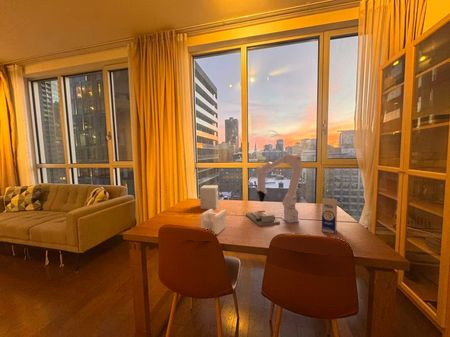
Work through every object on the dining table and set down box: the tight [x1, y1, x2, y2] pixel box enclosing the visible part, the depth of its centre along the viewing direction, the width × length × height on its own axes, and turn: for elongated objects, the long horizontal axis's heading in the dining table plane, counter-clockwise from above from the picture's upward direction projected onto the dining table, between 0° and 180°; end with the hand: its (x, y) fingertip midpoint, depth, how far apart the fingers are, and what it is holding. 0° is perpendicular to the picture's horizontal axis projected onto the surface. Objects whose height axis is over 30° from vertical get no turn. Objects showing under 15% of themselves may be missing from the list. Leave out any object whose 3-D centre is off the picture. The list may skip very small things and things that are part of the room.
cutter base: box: [245, 211, 281, 227], centre depth 145 cm, size 24×14×6 cm, turn 15°
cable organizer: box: [200, 209, 228, 235], centre depth 127 cm, size 15×11×12 cm
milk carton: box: [321, 196, 338, 235], centre depth 121 cm, size 7×7×20 cm
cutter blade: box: [257, 210, 269, 218], centre depth 142 cm, size 9×5×4 cm, turn 15°
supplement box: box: [199, 184, 220, 210], centre depth 179 cm, size 13×13×18 cm
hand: (261, 201), depth 156 cm, fingers closed
